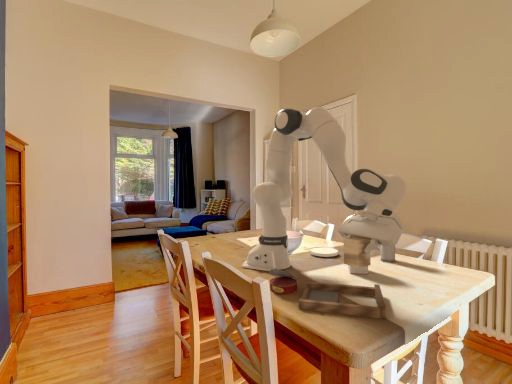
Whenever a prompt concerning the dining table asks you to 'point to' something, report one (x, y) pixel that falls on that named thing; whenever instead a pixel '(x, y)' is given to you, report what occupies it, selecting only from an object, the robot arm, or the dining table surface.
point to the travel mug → (387, 253)
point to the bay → (327, 301)
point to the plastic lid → (324, 252)
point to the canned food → (282, 282)
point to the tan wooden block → (356, 252)
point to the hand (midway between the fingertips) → (355, 250)
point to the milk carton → (358, 270)
